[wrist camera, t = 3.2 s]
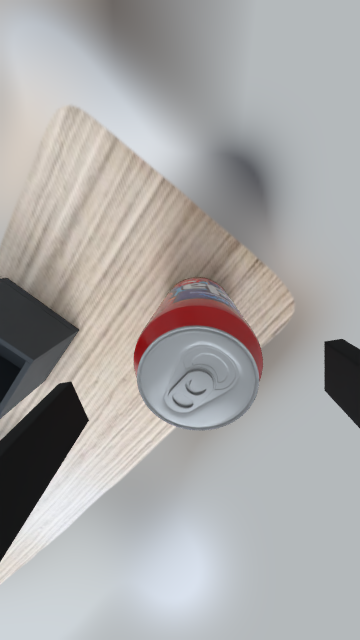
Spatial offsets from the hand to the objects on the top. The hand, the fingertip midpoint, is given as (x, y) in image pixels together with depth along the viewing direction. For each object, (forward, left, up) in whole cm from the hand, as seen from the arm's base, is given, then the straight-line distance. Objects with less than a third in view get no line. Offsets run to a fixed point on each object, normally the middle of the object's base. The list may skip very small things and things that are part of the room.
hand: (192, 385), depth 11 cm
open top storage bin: (+23, -1, -15) cm, 28 cm away
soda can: (0, 0, -15) cm, 15 cm away
